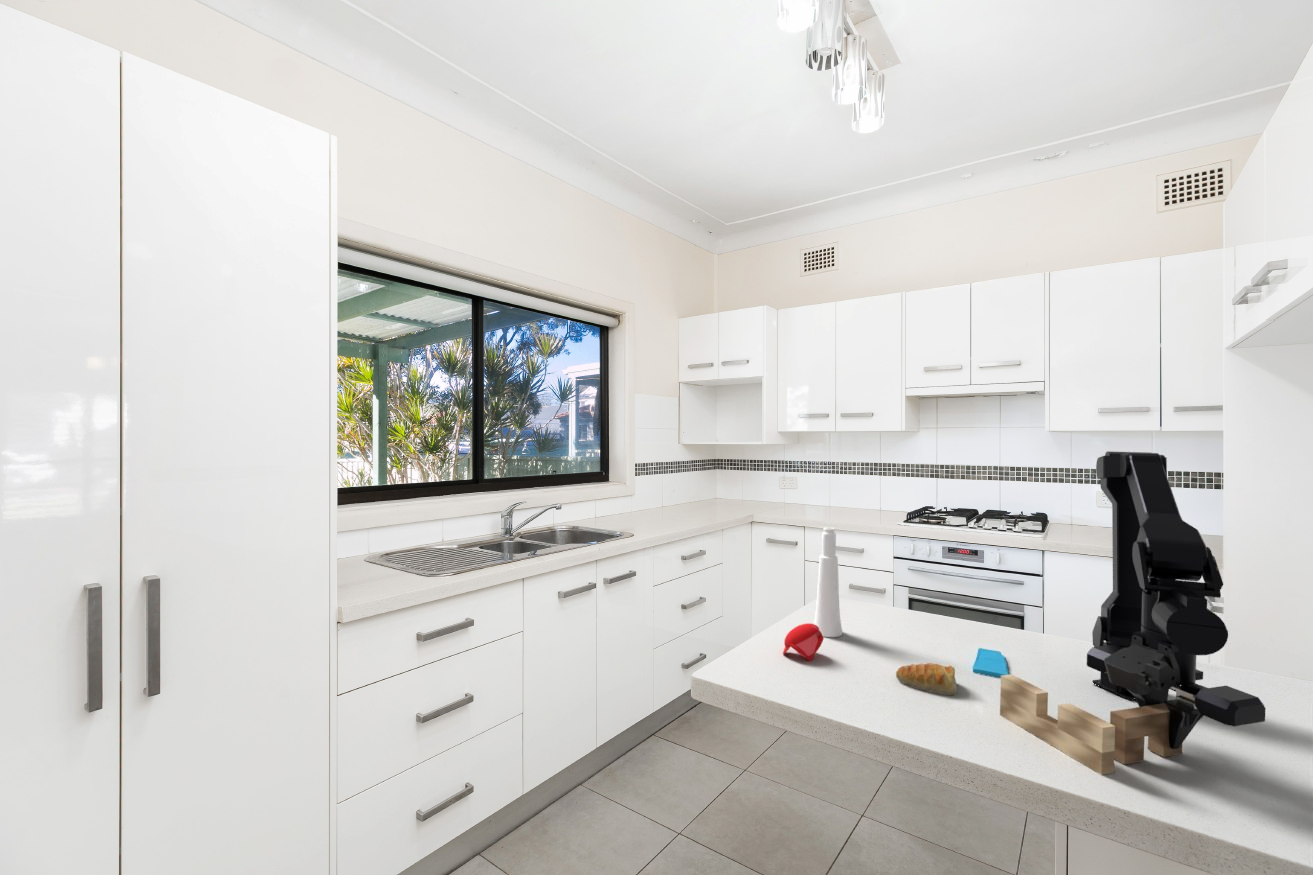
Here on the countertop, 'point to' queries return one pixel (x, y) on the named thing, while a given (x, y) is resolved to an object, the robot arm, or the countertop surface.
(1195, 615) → the robot arm
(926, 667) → the pastry
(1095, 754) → the oak slot board
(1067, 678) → the countertop surface
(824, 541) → the cosmetic bottle
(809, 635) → the red rounded piece
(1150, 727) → the walnut slot plate
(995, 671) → the sponge
